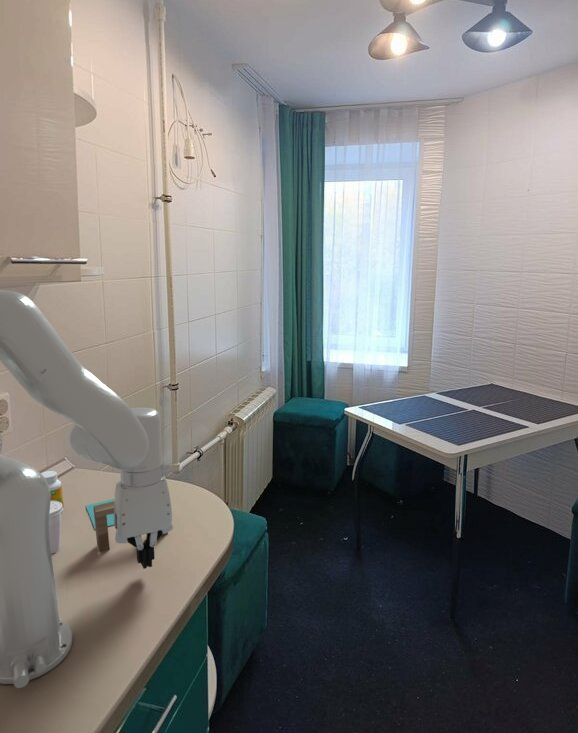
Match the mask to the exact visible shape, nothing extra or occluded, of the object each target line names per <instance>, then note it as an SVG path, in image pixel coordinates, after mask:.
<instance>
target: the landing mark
mask: <svg viewBox="0 0 578 733" xmlns="http://www.w3.org/2000/svg"><path fill="white" fill-rule="evenodd" d="M114 499H115V498H112V499H108V500H104V501H99V502H95V503H92V504H87V505H85V508H86V511H87V513H88V515H89V518H90V521H91V523H92V525H93V528H94V530H95V531H96V528H95V518H94V508H93V506H96V505H100V504H105V503H109V502H113V501H114ZM107 526H108V528H109V527H112V526H115V525H114V513H113V514H109V515H107Z"/></svg>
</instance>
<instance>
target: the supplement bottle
mask: <svg viewBox="0 0 578 733" xmlns="http://www.w3.org/2000/svg"><path fill="white" fill-rule="evenodd" d="M40 473H41V474H42V475H43V476H44V478H45V479H46V481H47V483H48V485H49V488H50V494H51V501H58V502H61V503H62V507H63V510H62V512H63V511H64V510H65V504H64V498H63V497H64V496H63V488H62V487H63V486H62V482H61V480H59V479H58V473H57V472H56V471H55V470H47V471H43V472H40Z"/></svg>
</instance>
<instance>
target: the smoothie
mask: <svg viewBox="0 0 578 733" xmlns="http://www.w3.org/2000/svg"><path fill="white" fill-rule="evenodd" d="M62 510H63V507H62V503H61V502H58V501H51V502H50V512H49V539H50V548H51V555H52V554H55V553H57V552H58V551H60V550H61V543H62V542H61V540H62V539H61V538H62V537H61V536H62V512H63V511H64V510H63V511H62Z"/></svg>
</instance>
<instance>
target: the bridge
mask: <svg viewBox="0 0 578 733" xmlns="http://www.w3.org/2000/svg"><path fill="white" fill-rule="evenodd" d="M93 508H94V518H95V528H96V530H95V536H96V546H97V549H98V551H99V553H103V552H106V551H109V550H110V548H111V547H110V539H109V530H108V528H109V527H108V526H107V515H109V514H113V513H114V501H113V502H109V503H105V504H100V505H96V506H93ZM95 528H94V529H95ZM167 534H169V532H167V533H165V534H162V536H164V535H167Z"/></svg>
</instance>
